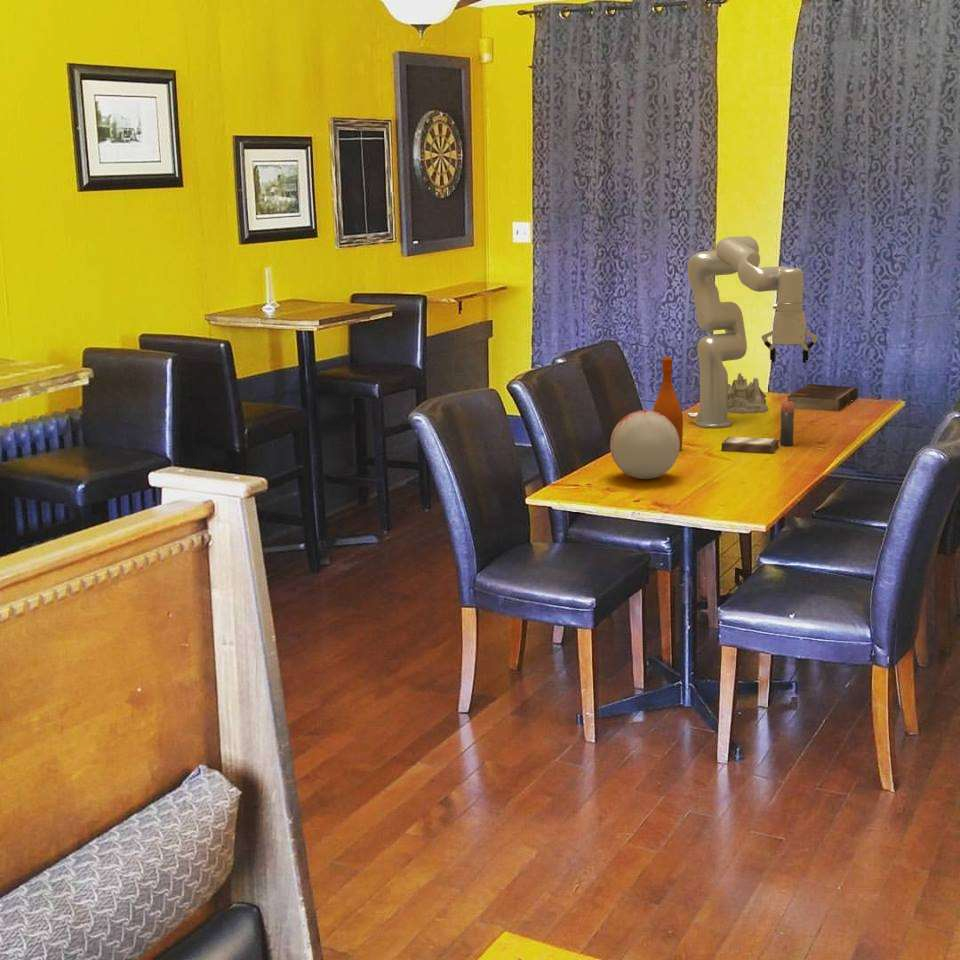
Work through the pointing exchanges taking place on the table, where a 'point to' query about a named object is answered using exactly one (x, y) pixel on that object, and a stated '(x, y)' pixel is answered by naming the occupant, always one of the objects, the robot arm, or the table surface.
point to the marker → (787, 423)
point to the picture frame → (750, 445)
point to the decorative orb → (644, 444)
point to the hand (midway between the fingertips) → (789, 362)
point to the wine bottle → (669, 399)
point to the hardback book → (823, 397)
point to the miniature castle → (746, 397)
